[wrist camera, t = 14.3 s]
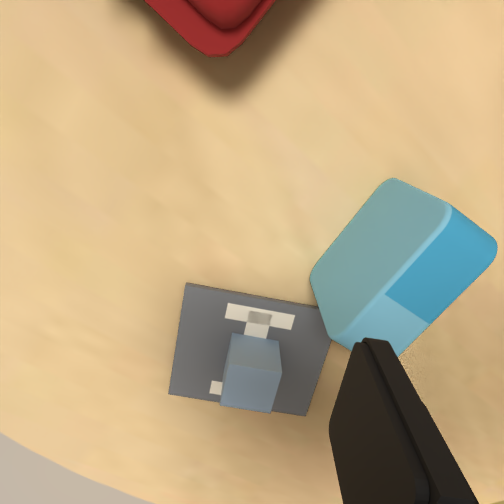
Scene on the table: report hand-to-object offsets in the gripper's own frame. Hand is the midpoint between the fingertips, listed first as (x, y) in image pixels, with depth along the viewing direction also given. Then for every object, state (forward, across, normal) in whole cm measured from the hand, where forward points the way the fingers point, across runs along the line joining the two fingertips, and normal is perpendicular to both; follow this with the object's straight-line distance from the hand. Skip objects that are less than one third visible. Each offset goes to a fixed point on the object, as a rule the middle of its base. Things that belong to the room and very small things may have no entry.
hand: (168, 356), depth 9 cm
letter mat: (+25, -4, +18) cm, 31 cm away
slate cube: (+24, -4, +18) cm, 31 cm away
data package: (+26, -13, +4) cm, 29 cm away
